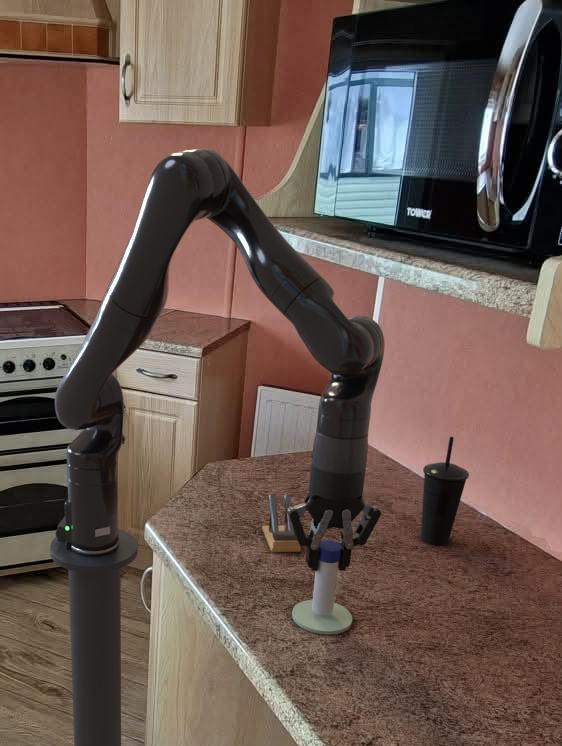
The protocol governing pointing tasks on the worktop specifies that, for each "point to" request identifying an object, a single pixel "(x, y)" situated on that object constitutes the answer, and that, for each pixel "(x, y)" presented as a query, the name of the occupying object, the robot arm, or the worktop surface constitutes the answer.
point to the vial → (326, 577)
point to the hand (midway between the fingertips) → (327, 567)
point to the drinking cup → (441, 498)
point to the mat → (322, 619)
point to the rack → (280, 529)
